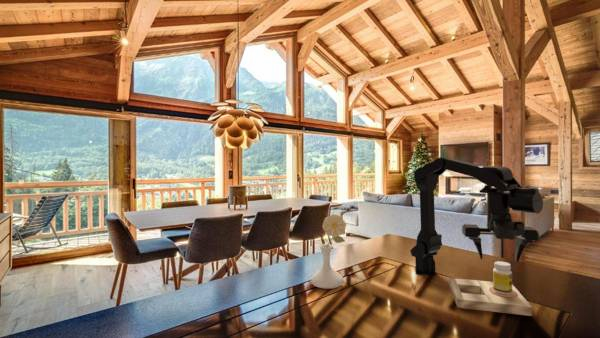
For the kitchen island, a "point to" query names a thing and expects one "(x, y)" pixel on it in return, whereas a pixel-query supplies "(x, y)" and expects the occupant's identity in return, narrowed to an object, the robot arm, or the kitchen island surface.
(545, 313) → the kitchen island surface
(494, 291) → the coaster
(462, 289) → the pocket board
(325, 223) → the flower in vase
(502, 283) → the supplement bottle
